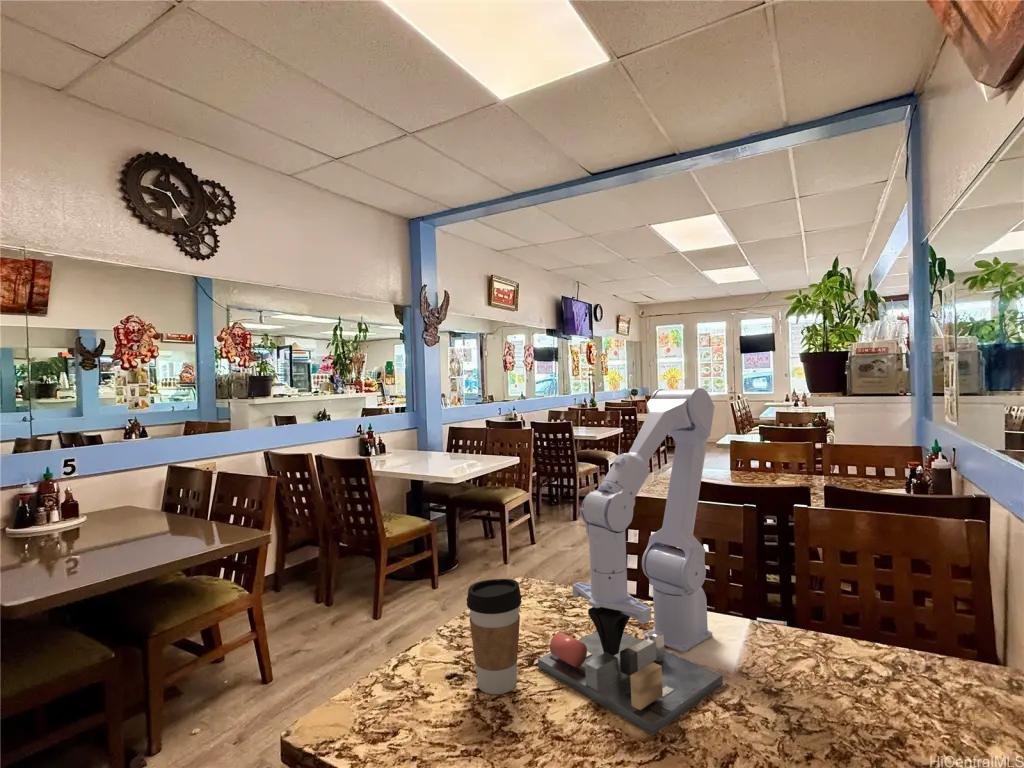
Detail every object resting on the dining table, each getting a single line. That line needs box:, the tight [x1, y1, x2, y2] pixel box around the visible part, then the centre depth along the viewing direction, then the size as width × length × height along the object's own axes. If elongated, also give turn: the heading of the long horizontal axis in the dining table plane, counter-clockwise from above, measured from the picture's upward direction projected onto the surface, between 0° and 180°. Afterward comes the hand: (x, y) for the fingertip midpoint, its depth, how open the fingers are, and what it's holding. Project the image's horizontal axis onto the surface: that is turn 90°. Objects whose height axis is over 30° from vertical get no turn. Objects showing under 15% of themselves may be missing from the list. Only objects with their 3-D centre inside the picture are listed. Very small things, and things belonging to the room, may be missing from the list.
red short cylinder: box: [549, 631, 587, 667], centre depth 82 cm, size 4×5×4 cm
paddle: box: [630, 662, 663, 710], centre depth 71 cm, size 5×1×4 cm, turn 129°
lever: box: [620, 631, 665, 676], centre depth 80 cm, size 9×2×4 cm, turn 129°
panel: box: [537, 630, 724, 736], centre depth 81 cm, size 17×22×5 cm
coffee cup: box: [466, 578, 523, 695], centre depth 80 cm, size 8×8×15 cm
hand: (611, 653), depth 83 cm, fingers closed
